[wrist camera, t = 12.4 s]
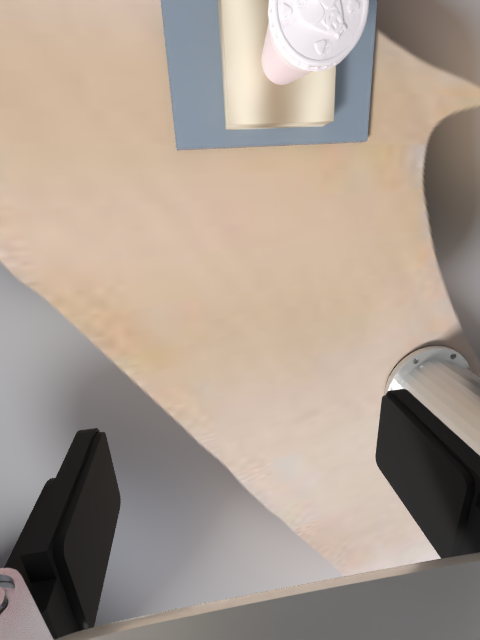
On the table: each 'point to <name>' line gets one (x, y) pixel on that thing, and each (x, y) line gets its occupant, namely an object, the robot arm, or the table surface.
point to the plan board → (207, 85)
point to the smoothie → (310, 36)
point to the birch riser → (265, 77)
